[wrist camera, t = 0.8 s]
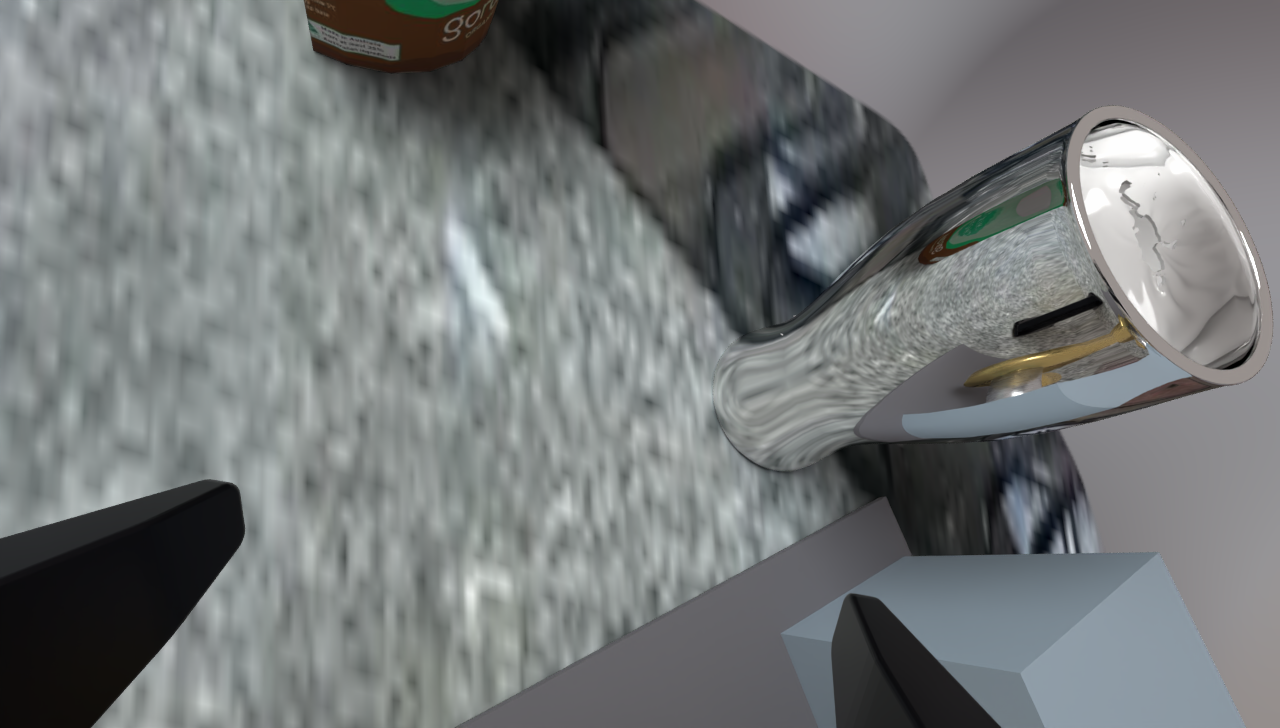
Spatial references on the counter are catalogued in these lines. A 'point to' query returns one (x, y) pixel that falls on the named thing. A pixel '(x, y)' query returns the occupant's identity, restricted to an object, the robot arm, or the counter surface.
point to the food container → (398, 31)
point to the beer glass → (1016, 306)
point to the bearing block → (1041, 640)
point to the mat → (715, 645)
